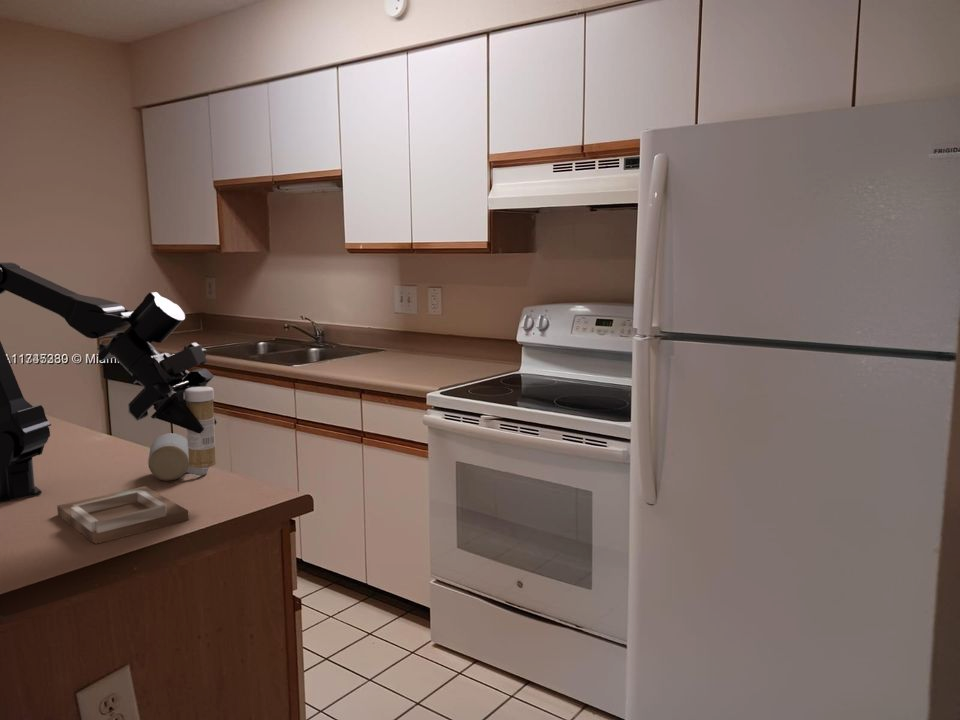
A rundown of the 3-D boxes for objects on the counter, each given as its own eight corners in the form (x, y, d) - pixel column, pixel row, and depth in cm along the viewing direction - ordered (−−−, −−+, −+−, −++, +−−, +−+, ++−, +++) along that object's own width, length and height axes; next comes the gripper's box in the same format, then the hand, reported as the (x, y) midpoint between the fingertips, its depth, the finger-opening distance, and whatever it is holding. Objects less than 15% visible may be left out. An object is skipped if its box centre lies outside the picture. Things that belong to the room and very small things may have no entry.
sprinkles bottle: (211, 460, 125) (208, 384, 123) (220, 466, 122) (217, 389, 120) (184, 464, 122) (181, 387, 120) (192, 471, 119) (189, 391, 117)
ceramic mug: (148, 484, 132) (146, 444, 131) (150, 472, 140) (149, 433, 139) (209, 479, 136) (208, 440, 135) (208, 467, 144) (207, 430, 143)
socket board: (57, 514, 117) (56, 496, 116) (145, 494, 127) (144, 478, 126) (95, 544, 105) (93, 524, 105) (188, 519, 115) (187, 501, 115)
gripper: (143, 335, 110) (214, 408, 110) (201, 323, 128) (261, 386, 129) (97, 383, 112) (167, 455, 112) (160, 365, 130) (221, 427, 131)
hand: (208, 428), depth 121 cm, fingers closed on sprinkles bottle, 4 cm apart
